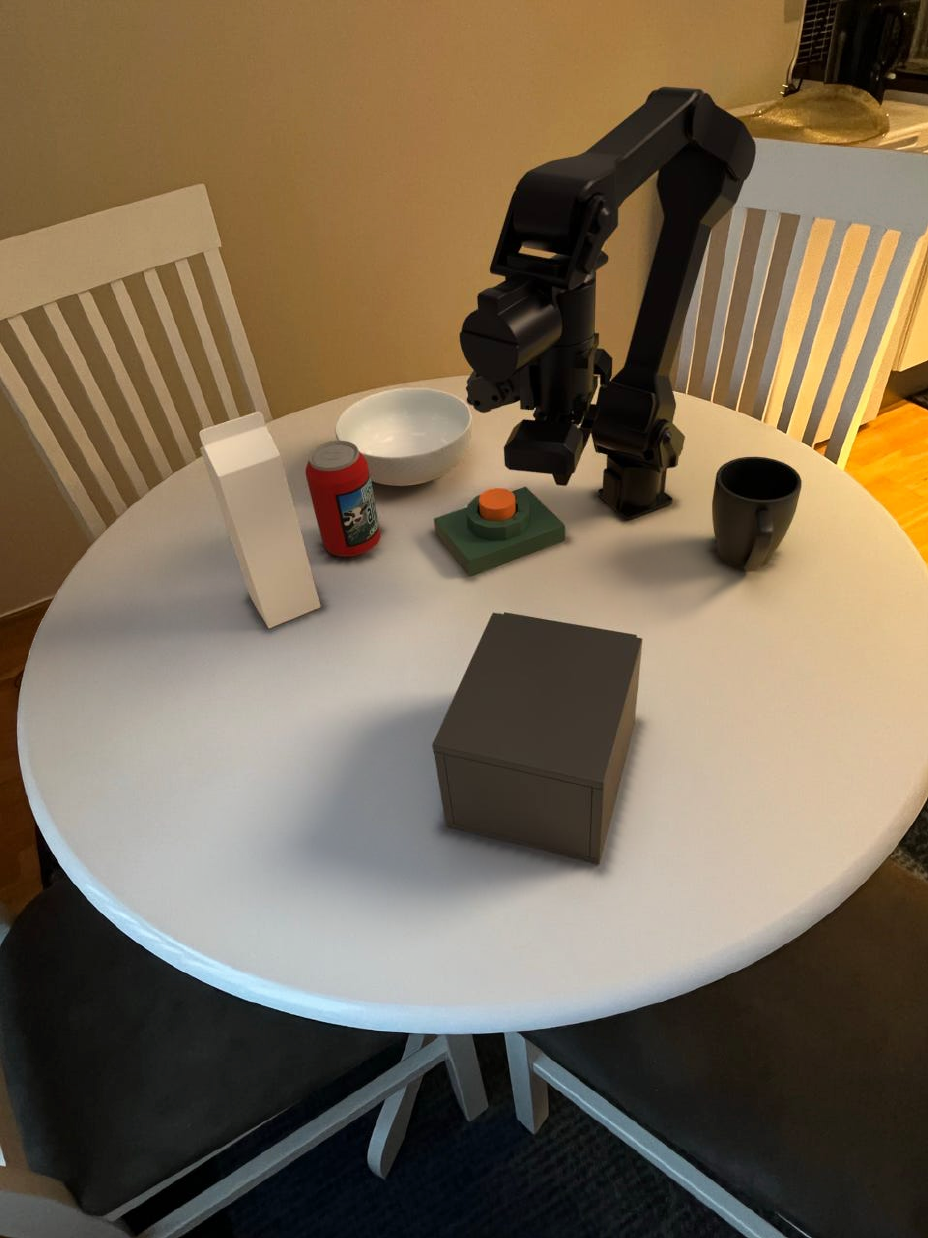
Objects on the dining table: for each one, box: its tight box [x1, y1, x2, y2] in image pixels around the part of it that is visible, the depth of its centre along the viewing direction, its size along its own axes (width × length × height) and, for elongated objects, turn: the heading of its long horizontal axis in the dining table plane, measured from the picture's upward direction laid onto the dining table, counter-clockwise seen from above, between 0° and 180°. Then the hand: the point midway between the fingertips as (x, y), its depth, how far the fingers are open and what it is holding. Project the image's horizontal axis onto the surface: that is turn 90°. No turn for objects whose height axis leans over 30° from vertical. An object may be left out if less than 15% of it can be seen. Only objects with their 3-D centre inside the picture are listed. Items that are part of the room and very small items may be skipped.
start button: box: [479, 487, 516, 521], centre depth 92 cm, size 4×4×2 cm
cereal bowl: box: [334, 387, 473, 487], centre depth 105 cm, size 17×17×7 cm
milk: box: [198, 411, 322, 629], centre depth 82 cm, size 6×6×22 cm
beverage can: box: [304, 440, 381, 557], centre depth 92 cm, size 7×7×12 cm
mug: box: [711, 456, 803, 573], centre depth 85 cm, size 8×12×10 cm
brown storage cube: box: [432, 612, 643, 866], centre depth 67 cm, size 15×13×11 cm
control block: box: [433, 486, 566, 577], centre depth 94 cm, size 12×9×4 cm
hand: (562, 483), depth 82 cm, fingers closed
